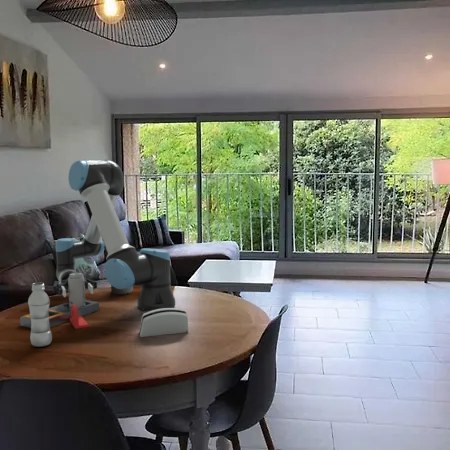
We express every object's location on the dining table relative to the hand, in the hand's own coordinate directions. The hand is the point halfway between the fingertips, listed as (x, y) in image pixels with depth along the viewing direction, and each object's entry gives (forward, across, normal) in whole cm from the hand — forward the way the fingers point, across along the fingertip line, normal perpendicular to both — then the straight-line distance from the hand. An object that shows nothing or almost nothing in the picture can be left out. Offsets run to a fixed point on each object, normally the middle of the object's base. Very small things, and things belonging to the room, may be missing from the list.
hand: (78, 291), depth 196 cm
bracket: (+10, +2, -10) cm, 14 cm away
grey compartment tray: (0, +7, -9) cm, 11 cm away
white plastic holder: (+34, -22, -9) cm, 42 cm away
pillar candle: (-27, -23, -9) cm, 37 cm away
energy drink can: (-4, 0, -9) cm, 10 cm away
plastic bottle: (+28, +16, -9) cm, 34 cm away
